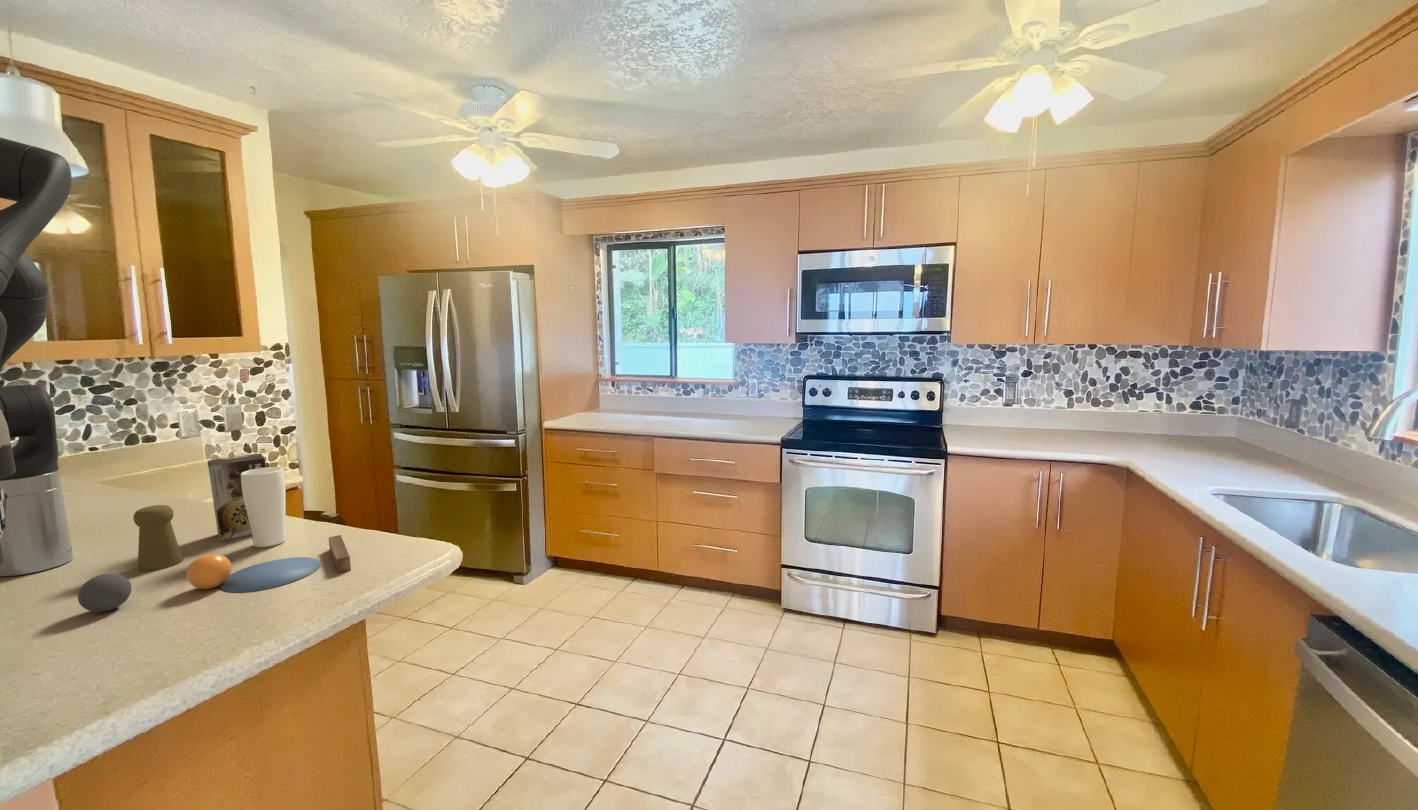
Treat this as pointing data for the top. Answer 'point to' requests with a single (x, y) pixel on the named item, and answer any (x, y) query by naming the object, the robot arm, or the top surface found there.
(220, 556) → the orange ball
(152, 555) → the cork
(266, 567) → the blue flat round disc
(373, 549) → the top surface
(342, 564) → the brown bar
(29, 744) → the top surface
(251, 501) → the drinking glass
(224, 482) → the coffee box
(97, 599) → the gray ball
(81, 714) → the top surface
